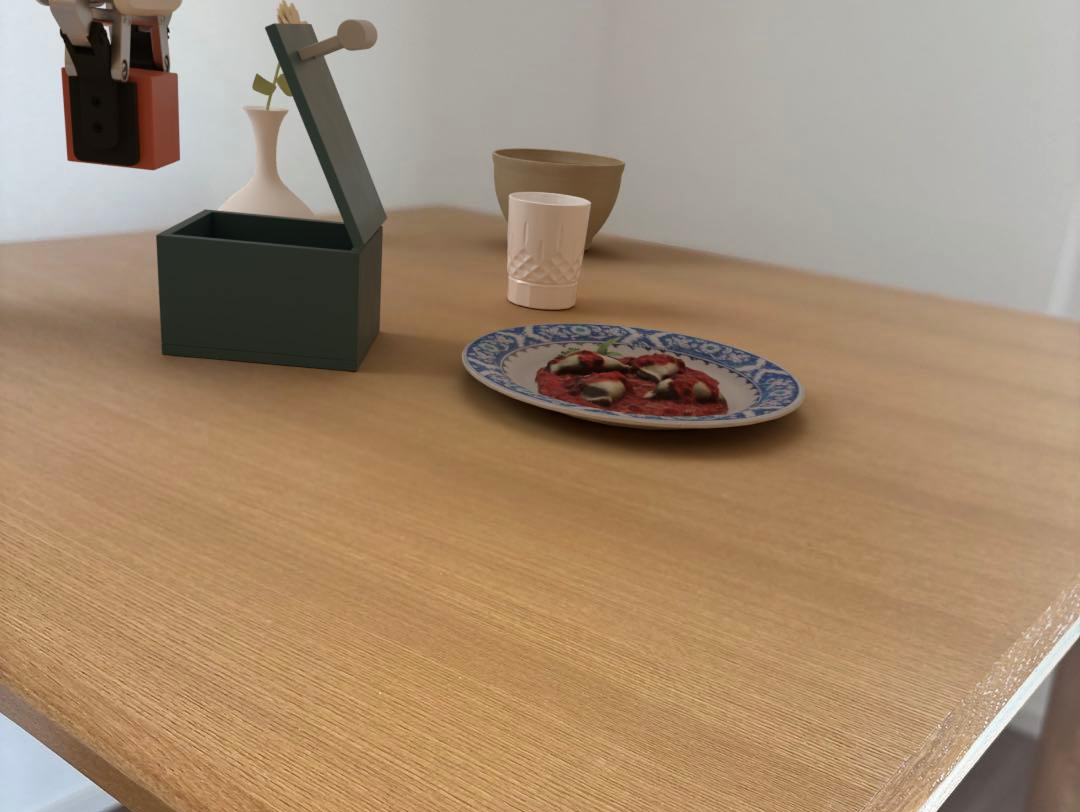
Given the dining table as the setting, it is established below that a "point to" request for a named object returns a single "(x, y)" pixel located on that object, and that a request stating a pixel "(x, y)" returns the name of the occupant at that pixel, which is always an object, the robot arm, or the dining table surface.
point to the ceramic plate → (633, 376)
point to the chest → (268, 290)
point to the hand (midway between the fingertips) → (124, 153)
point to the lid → (331, 117)
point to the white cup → (545, 248)
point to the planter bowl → (560, 179)
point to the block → (144, 118)
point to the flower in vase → (269, 150)
